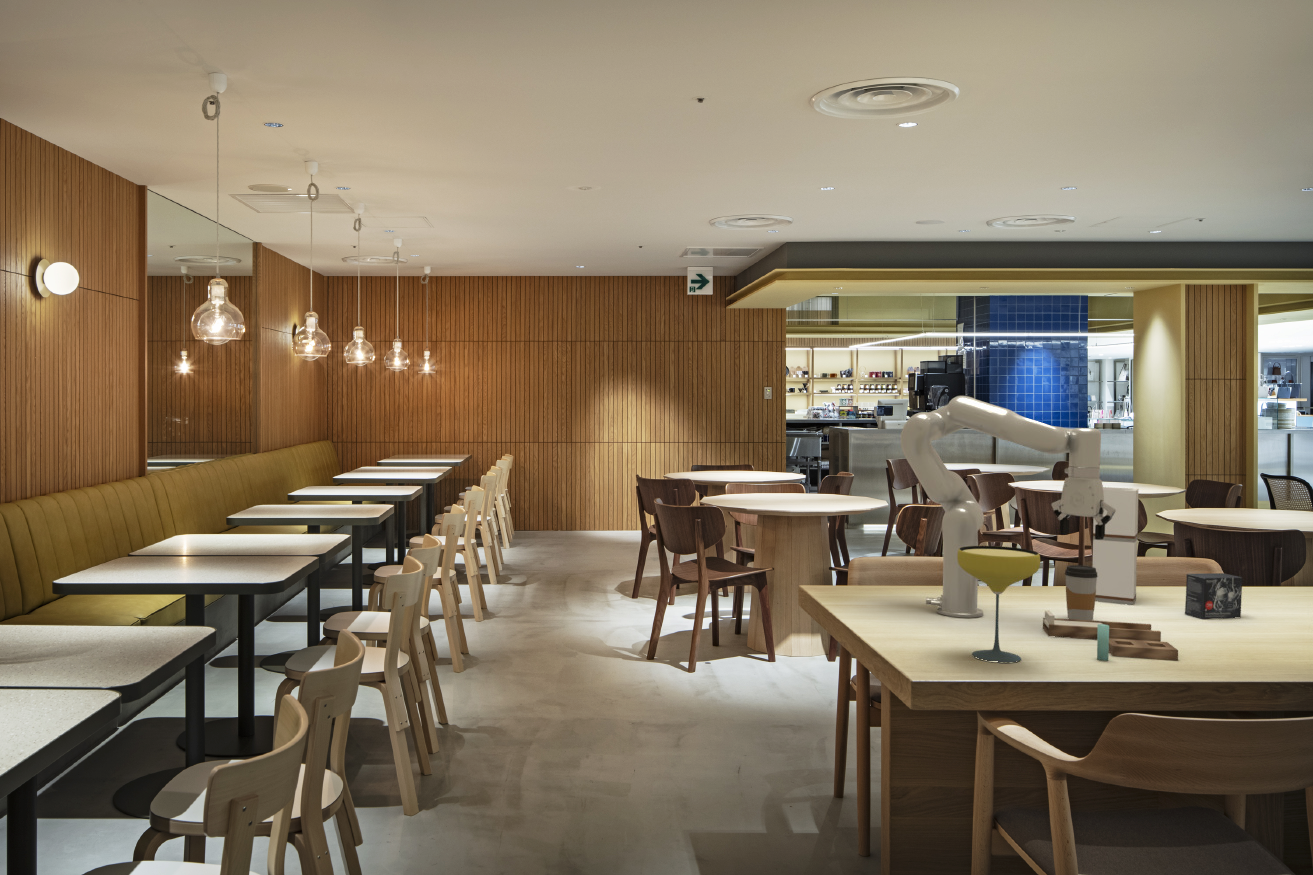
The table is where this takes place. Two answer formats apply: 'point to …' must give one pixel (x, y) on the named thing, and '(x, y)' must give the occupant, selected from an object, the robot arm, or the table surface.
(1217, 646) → the table surface
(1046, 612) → the lid
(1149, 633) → the board
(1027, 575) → the cocktail glass
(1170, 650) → the pin board
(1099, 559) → the mini fridge
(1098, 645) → the pin
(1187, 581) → the small box
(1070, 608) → the coffee cup
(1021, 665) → the table surface
